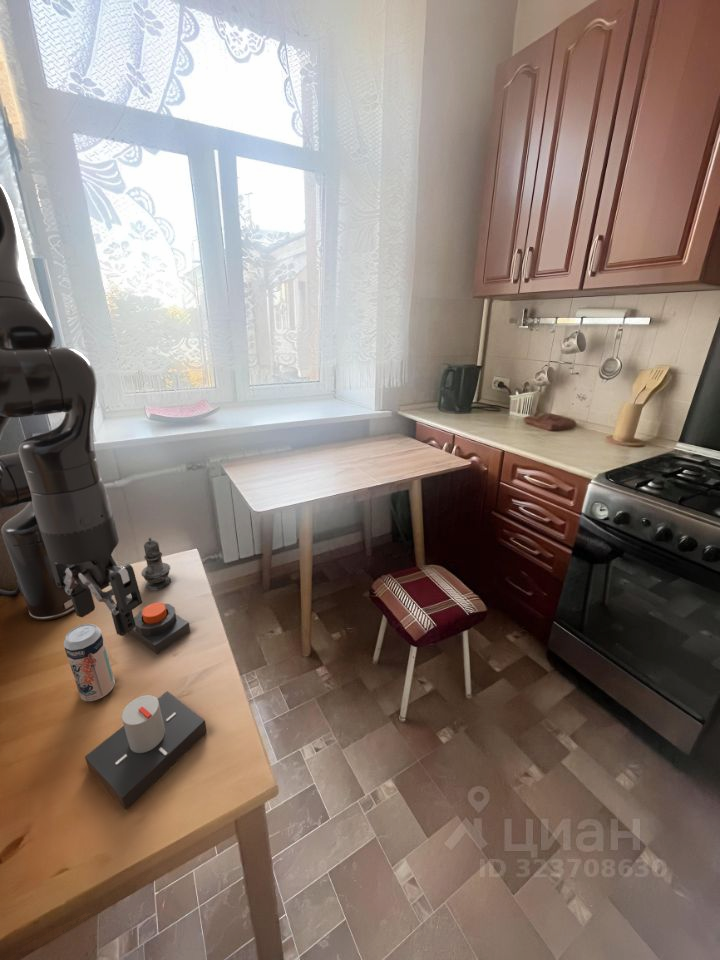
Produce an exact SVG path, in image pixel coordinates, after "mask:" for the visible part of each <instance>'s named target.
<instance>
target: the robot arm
mask: <svg viewBox="0 0 720 960" xmlns="http://www.w3.org/2000/svg"><path fill="white" fill-rule="evenodd" d="M14 208H15V207H14V206H13V203H12V201H11V198H10V197H9V195H8V193H7V191H6V190H5V187H4V186H3V185H2V184H1V183H0V441H1V440H2V437H3V434H4V431H5V429H6V428H7V425H8V424H9V423H10V421H11V420H12V418H25V417H32V416H41V415H51V414H52V415H53V414H60V413H64V417H63V420H62V421H61V423H60V424H59V425H58V426H57V427H55V428H53V429H51V430H48V431H45V432H42V433H39V434H35V435H33V436H31V437H28V438H26V439H24V440H23V441H22V442H21V443H20V444H19V446H18V452H13V453H8V454H3V455H0V511H1V510H7V509H11V508H14V507H17V506H21V505H24V504H26V506H25V507H23V509H22V510H21V511H19V512H18V513H17V514H15V515H14V516H12V517H11V518H9V519H8V520H7V521H6V522H5V523H3V525H2V526H1V530H0V531H1V536H2V539H3V542H4V544H5V547H6V551H7V553H8V555H9V558H10V561H11V563H12V566H13V570H14V572H15V576H16V578H17V579H16V583H17V587H16V589H15V590H12V591H9V590H6V589H1V588H0V595H4V596H16V595H19V594H20V593H21V594H22V595H23V597H24V600H25V603H26V606H27V609H28V613H29V616H30V618H31V619H33V620H36V621H50V620H54V619H55V620H56V619H59V618H61V617H64V616H67V615H69V614H71V613H72V612H75V615H76V616H77V617H79V618H84V617H85V616H87V615H90V614H91V613H93V612H94V611H95V610H96V605H95V601H94V599H93V598H94V597H95V599H96V601H98V602H99V603H104V604H105V605H106V606H107V608H108V609H109V611H110V612H111V614H110V615H111V617H112V622H113V624H114V628H115V632H116V634H117V635H118V636H120V637H125V636H126V635H127V634H128V632H130V631H131V630H132V629H134V627H135V621H134V617H135V616H134V613H133V610H135V609H136V608H138V607H139V606H140V605H142V604H143V599H142V596H141V595H142V594H141V592H140V588H139V585H138V584H139V583H138V581H137V577H136V574H135V570H134V568H133V566H132V565H131V564H130V563H127V564H125V565H123V566H118V565H117V563H116V561H115V559H114V557H113V555H112V554H113V552H114V550H115V549H116V547H117V546H118V544H119V541H120V539H119V533H118V530H117V525H116V522H115V517H114V513H113V509H112V505H111V501H110V497H109V494H108V491H107V489H106V486H105V484H104V481H103V479H102V478H103V477H102V474H101V471H100V466H99V461H98V457H97V454H96V448H95V442H94V441H95V440H94V420H95V419H94V418H95V408H96V400H97V389H98V386H97V384H98V382H97V376H96V372H95V369H94V367H93V365H92V363H91V362H90V360H89V359H88V358H87V357H86V356H85V355H84V354H83V353H81V352H80V351H78V350H76V349H74V348H73V347H66V346H65V347H63V346H55V343H56V332H55V329H54V326H53V324H52V322H51V319H50V317H49V315H48V313H47V311H46V309H45V307H44V304H43V302H42V300H41V299H40V296H39V294H38V292H37V289H36V286H35V283H34V280H33V277H32V273H31V268H30V264H29V259H28V255H27V251H26V247H25V243H24V240H23V236H22V234H21V229H20V225H19V223H18V218H17V215H16V212H15V209H14ZM109 586H110V587H111V589H109V590H108V591H103V590H104V589H106V588H108V587H109ZM92 594H93V595H92ZM93 596H94V597H93ZM113 596H114V599H113ZM114 600H115V601H114Z"/></svg>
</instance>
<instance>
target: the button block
mask: <svg viewBox="0 0 720 960" xmlns="http://www.w3.org/2000/svg"><path fill="white" fill-rule="evenodd" d="M163 604H164V605H165V606H166V612H167V616H166V617H165V619H163V620H162V621H160V622H158V623H155V624H147V623H145V622H144V620H143V616H142V611H143V609H142V610H140V611H139V612H138V613H137V614H136V616H133V617H134V621H135V627H134V629H132V630H131V631H130V632H128V633H127V634H128V635H129V636H130V637H132V638H133V639H134V640H136V641H137V642H139V643H141V645H144V647H145V648H147V649H148V650H150V651H151V652H153V653H154V654H155V655H159V654H161V652H163V651H164V650H166V649H167V648H169V647H170V646H172V645H174V644H175V643H176V642H177V641H179V640H180V639H182V638H183V637H184V636H186V635H187V634H189V633H190V632H191V627H190V622H189V621H187V620H186V619H184V618H182V617H181V616H179V615H178V614H176V609H175V607H174V606H173V605H171V604H170V603H163Z"/></svg>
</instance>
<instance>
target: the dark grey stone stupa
mask: <svg viewBox="0 0 720 960" xmlns="http://www.w3.org/2000/svg"><path fill="white" fill-rule="evenodd" d="M143 548H144V556H143V558H144V560H145V561H146V566H145V567H144V568H143V569H142V571H141V572H140V573H141V574H140V575H141V576H142V577H143V578H144V580H145V581H146V583H145V589H147V590H148V591H160V590H163V589H165V588H168V586H169V585H171V582H172V578H171V577H169V574H170V570H171V565H170V564H169V563H166V562H163V559H162V556H163V552H161V551H160V545H159V542H158V541H157V540H155V539H152V537H148V540H147V541H145V542H144V544H143Z"/></svg>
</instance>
